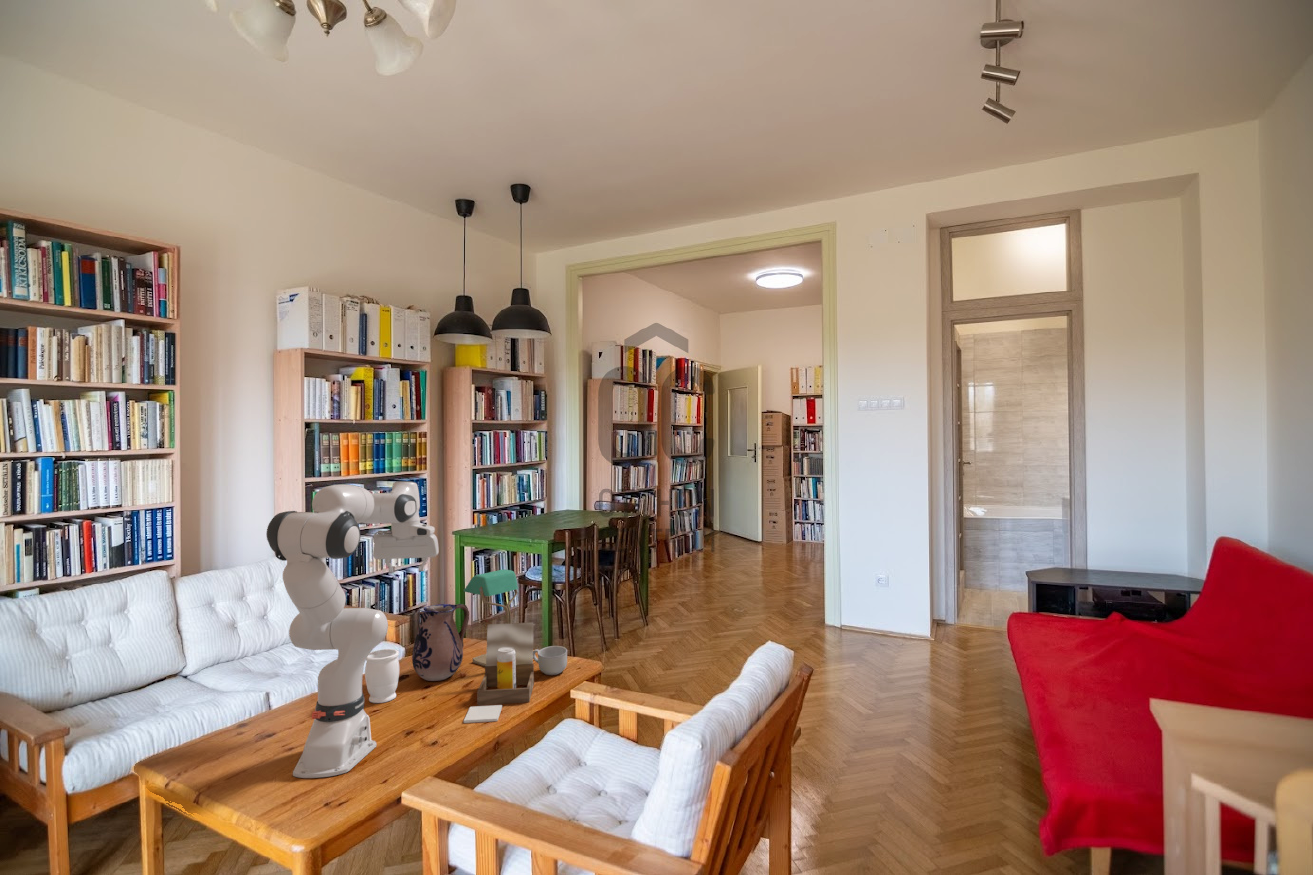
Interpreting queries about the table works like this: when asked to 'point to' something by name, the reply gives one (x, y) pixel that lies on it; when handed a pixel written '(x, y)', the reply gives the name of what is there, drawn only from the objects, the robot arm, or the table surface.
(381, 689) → the jar
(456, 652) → the ceramic pitcher
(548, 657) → the teacup
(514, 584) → the banker's lamp
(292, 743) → the table surface
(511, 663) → the beer can
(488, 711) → the stone tile
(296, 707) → the table surface
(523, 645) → the box
